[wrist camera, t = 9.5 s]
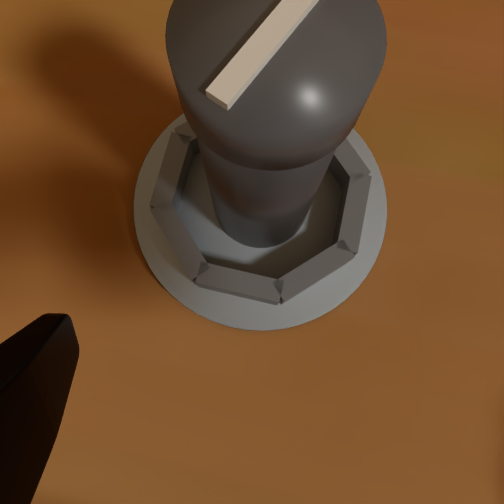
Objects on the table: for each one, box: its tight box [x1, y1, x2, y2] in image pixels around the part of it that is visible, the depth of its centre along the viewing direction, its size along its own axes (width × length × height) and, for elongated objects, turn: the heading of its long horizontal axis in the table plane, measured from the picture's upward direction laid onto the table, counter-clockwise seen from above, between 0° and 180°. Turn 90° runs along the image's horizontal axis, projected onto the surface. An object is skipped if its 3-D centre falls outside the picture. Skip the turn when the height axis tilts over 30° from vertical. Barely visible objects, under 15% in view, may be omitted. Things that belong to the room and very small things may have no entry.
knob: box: [165, 0, 387, 248], centre depth 16 cm, size 5×5×12 cm
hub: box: [134, 113, 387, 331], centre depth 21 cm, size 13×13×2 cm
